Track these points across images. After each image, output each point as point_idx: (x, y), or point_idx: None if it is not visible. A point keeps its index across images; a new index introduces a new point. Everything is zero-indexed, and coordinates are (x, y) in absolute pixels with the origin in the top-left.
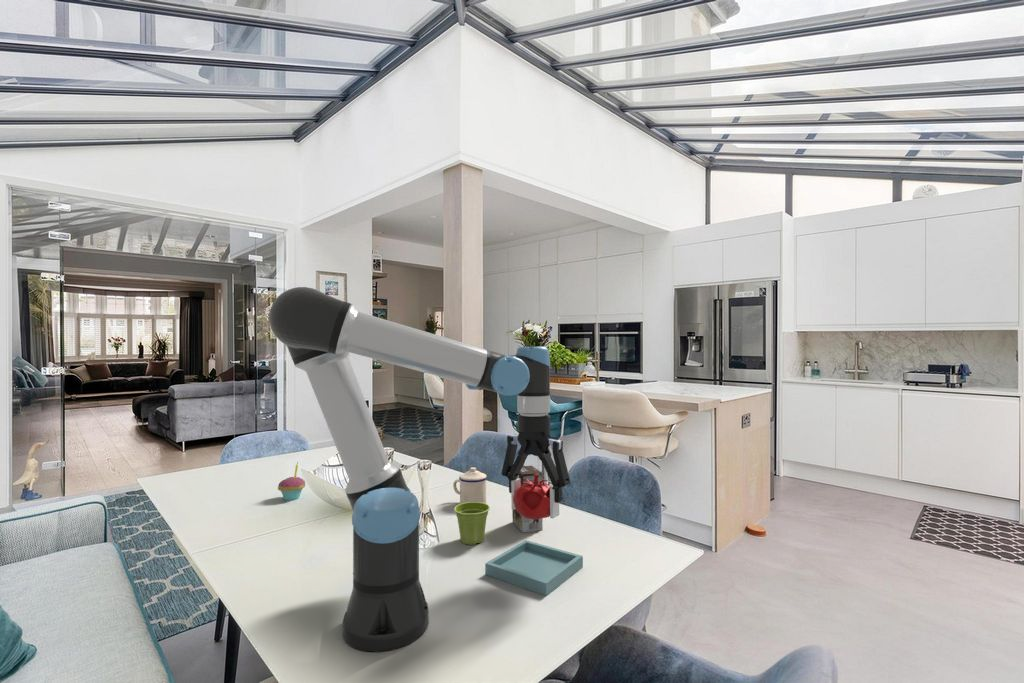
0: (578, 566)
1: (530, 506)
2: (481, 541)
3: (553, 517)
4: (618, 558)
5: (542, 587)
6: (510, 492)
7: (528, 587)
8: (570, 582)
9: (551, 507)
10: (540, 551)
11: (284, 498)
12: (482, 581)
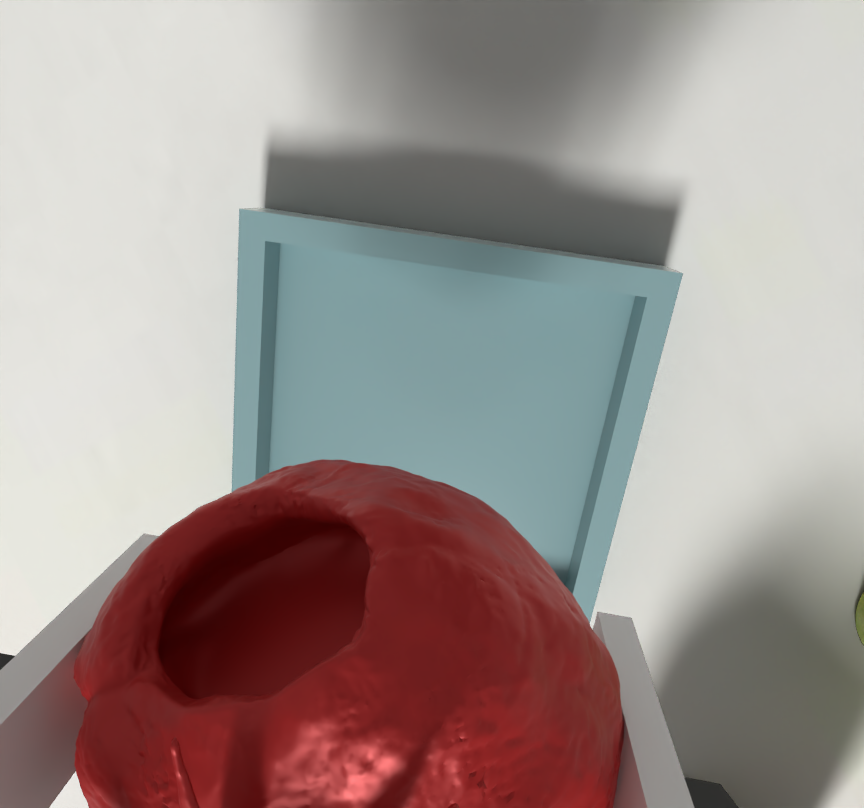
0: None
1: (343, 575)
2: (860, 604)
3: (137, 542)
4: None
5: (273, 211)
6: (710, 789)
7: (368, 223)
8: (229, 387)
9: (98, 599)
10: None
11: None
12: (644, 185)
